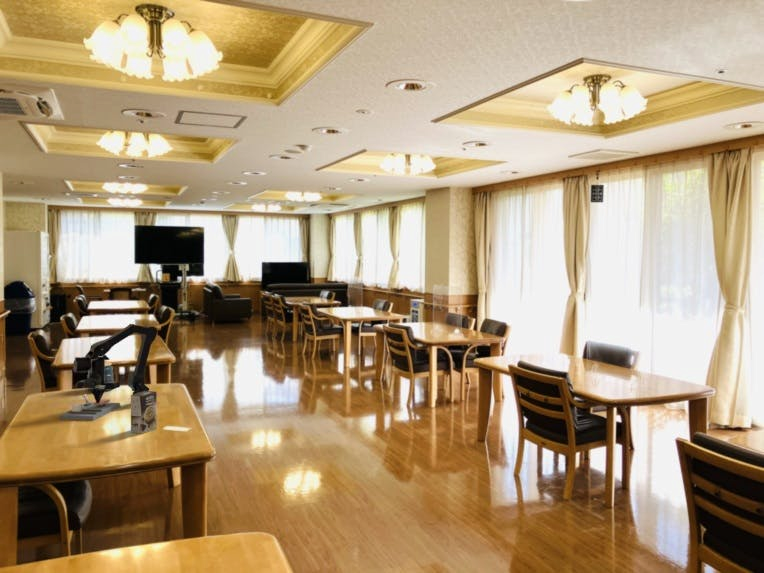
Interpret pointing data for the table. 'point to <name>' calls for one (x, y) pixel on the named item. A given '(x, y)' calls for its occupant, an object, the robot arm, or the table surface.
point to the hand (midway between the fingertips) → (97, 402)
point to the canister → (108, 374)
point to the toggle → (85, 398)
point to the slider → (77, 407)
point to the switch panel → (90, 411)
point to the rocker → (102, 402)
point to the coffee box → (143, 412)
